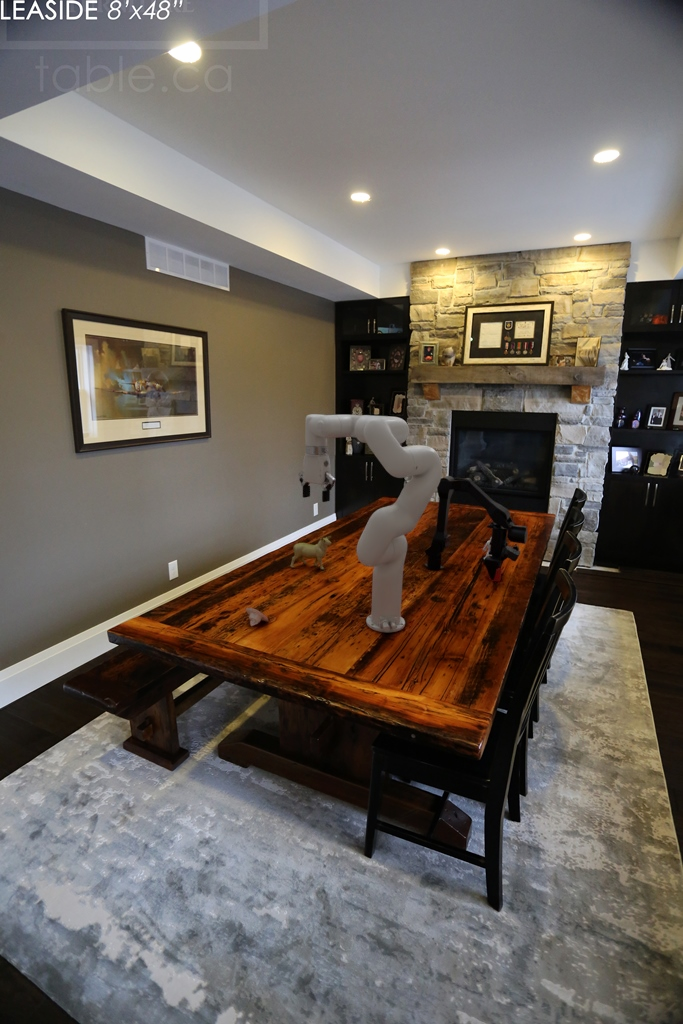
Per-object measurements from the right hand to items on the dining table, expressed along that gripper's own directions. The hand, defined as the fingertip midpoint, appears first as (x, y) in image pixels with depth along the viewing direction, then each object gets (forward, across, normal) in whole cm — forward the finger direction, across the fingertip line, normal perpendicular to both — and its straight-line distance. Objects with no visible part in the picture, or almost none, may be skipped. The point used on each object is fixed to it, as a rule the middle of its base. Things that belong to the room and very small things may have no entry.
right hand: (495, 576), depth 202 cm
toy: (+1, -30, +69) cm, 75 cm away
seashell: (+1, -81, +57) cm, 99 cm away
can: (+1, 0, 0) cm, 1 cm away
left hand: (-35, -51, +53) cm, 82 cm away
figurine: (+1, +22, +7) cm, 23 cm away
